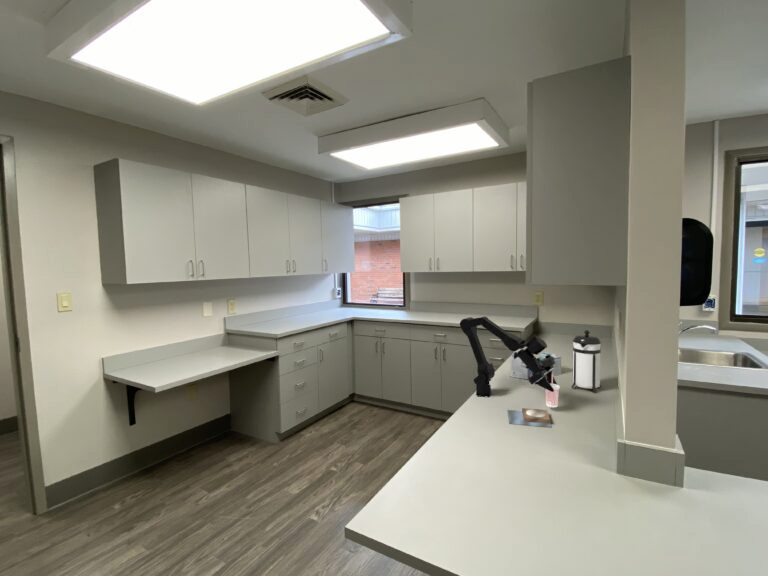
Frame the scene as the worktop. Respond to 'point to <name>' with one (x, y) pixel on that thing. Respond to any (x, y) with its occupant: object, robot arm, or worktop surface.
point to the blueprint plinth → (519, 419)
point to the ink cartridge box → (519, 368)
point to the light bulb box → (557, 362)
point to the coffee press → (586, 361)
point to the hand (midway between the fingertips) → (555, 389)
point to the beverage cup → (552, 395)
